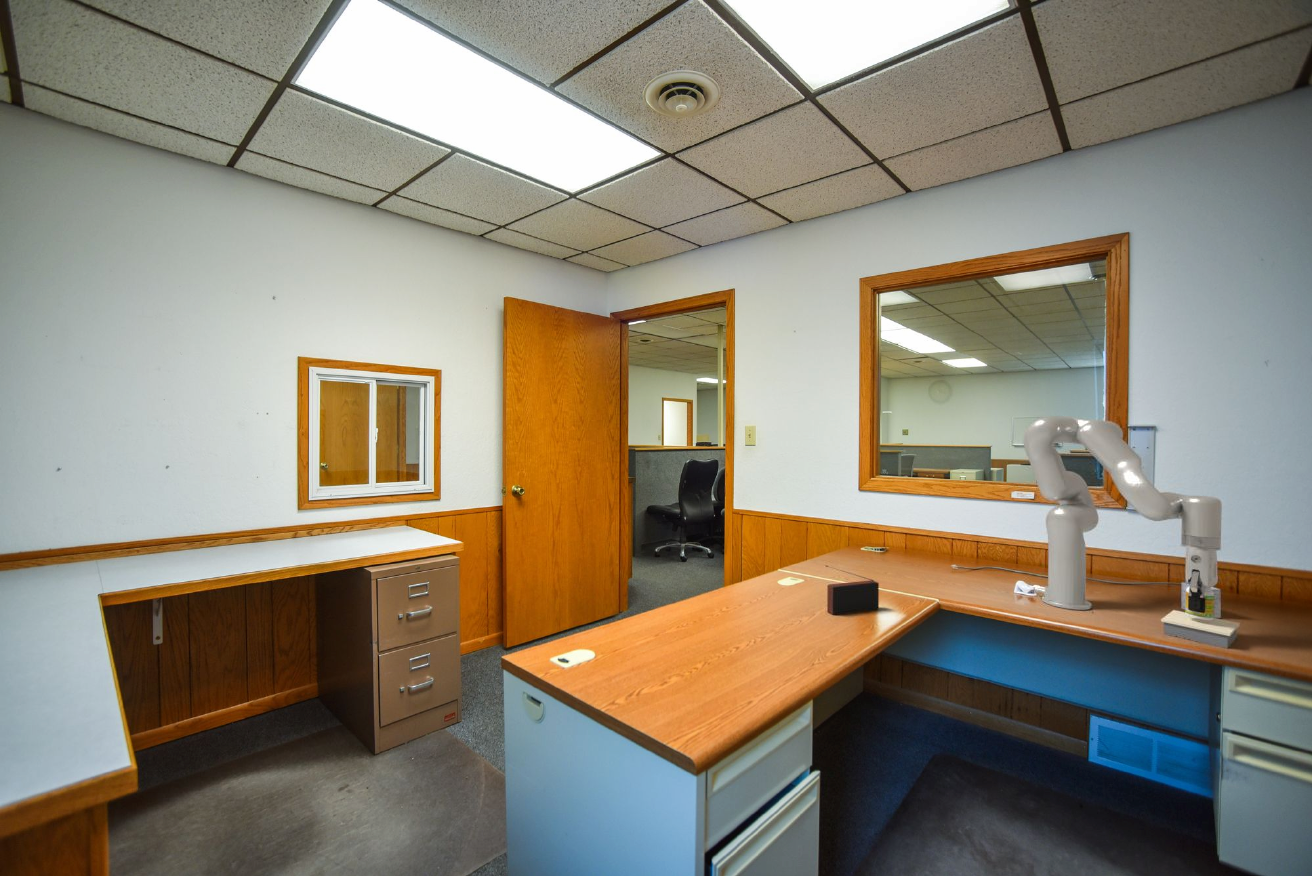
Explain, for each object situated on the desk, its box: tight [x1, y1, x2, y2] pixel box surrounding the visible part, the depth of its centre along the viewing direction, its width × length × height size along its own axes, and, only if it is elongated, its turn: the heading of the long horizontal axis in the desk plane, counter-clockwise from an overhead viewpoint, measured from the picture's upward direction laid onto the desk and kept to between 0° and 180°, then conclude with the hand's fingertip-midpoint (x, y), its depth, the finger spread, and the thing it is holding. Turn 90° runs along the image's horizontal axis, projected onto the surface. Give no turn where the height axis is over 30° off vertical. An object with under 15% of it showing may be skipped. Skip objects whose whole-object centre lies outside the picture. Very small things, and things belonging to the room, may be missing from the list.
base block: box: [1160, 609, 1241, 649], centre depth 147 cm, size 13×13×4 cm
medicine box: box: [1180, 581, 1222, 619], centre depth 164 cm, size 8×4×9 cm, turn 179°
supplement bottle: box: [1184, 583, 1214, 620], centre depth 147 cm, size 5×5×10 cm
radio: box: [825, 565, 880, 616], centre depth 167 cm, size 19×3×15 cm, turn 108°
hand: (1199, 608), depth 147 cm, fingers open, 5 cm apart
